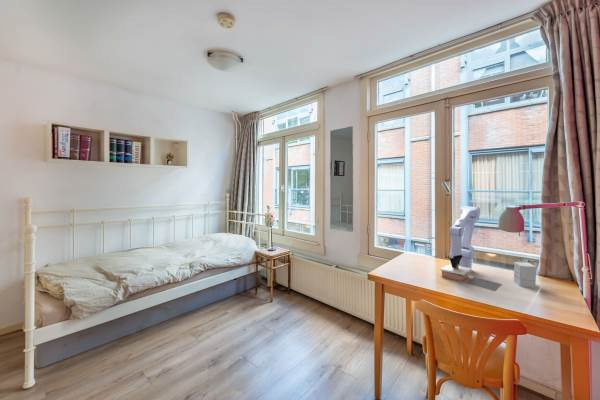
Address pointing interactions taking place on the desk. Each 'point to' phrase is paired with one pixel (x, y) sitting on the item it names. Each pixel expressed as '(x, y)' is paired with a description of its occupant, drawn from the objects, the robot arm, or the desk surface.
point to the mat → (484, 283)
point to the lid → (456, 269)
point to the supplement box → (524, 274)
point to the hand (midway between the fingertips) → (455, 266)
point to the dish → (454, 276)
